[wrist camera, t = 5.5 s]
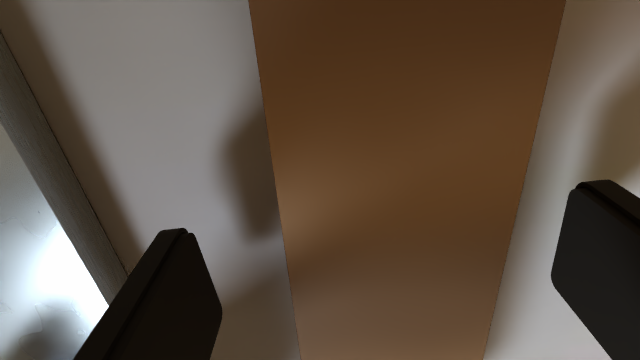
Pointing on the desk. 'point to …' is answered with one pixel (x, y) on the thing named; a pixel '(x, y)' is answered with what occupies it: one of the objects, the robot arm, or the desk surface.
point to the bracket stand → (45, 236)
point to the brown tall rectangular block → (400, 163)
